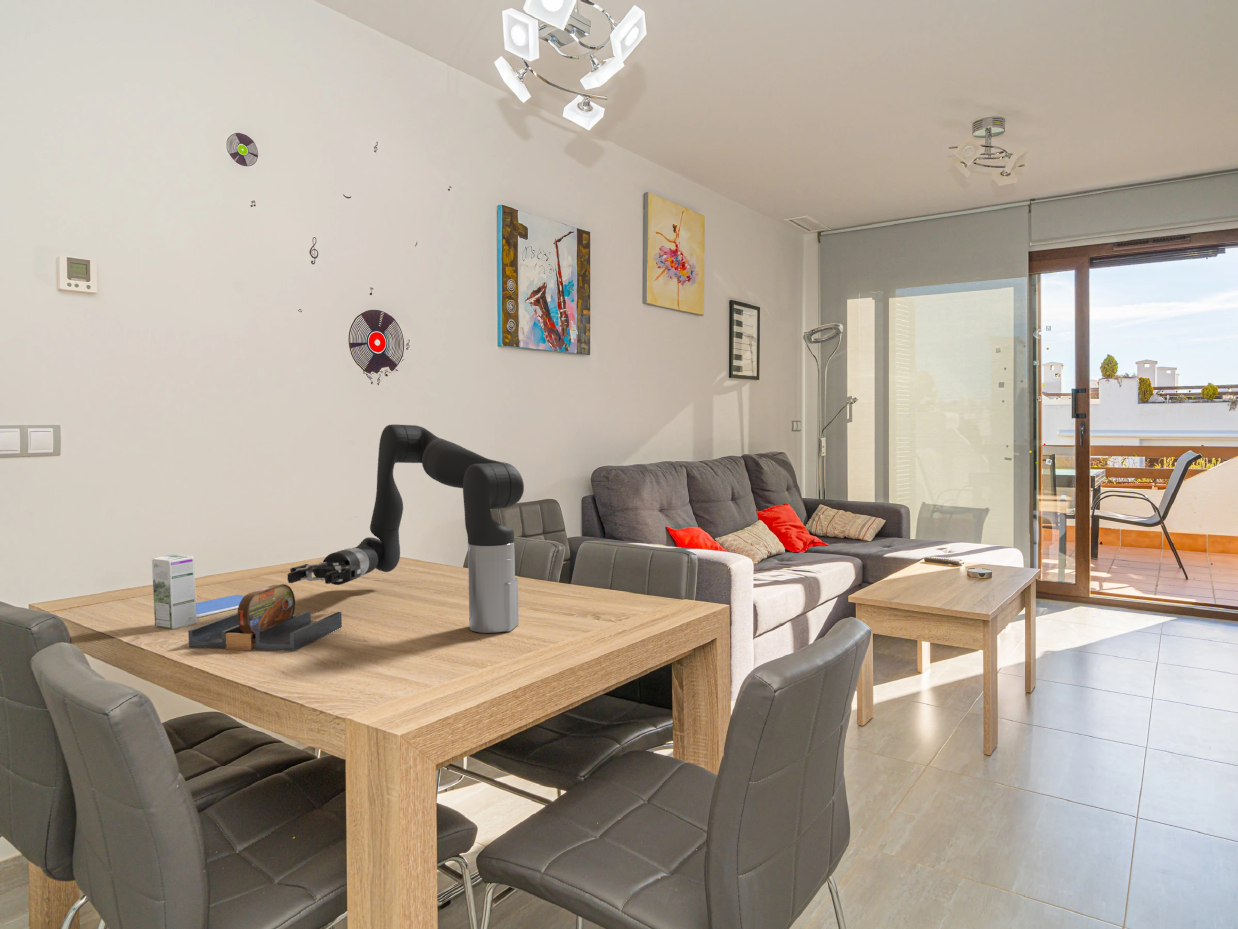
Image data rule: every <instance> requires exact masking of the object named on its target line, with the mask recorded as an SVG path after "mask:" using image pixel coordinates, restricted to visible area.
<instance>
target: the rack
mask: <svg viewBox="0 0 1238 929" xmlns="http://www.w3.org/2000/svg"><path fill="white" fill-rule="evenodd" d="M311 613H312V612H311V611H310V610H306V611H304V612H302V613H298V614H297V615H293V617H291V618H289V619H287V620H284V621H282V622H279V623H277V624H275V625H272V626H270V627H267V628H265V629H263V630H260V631H258V632H255V636H253V633H243V632H242V631H241V629H240V627H239V621H238V612H236V613H233V614H230V615H228V616H225V617H222V618H220V619H216V620H214V621H210V622H208V623H206V624H203V625H199V626H196V627H194V628H191V629H189V630H188V634H187V635H188V648H189V649H190V648H191V649H193V648H194V649H196V648H197V649H221V650H222V649H225V650H227V651H228V650H229V651H249V650H251V651H253V649H255V650H254V651H278V650H284V651H283V652H285V651H287V652H295V651H297V650H299V649H301V648H303V647H305V646H307V645H309V644H311V643H313V642H316V641H317V640H319V639H322V638H323V637H326V636H327V634H328V635H329V633H330V634H331V632H332V633H333V631H334V632H336V631H338V630H340V629H342V628H343V625H342V622H343V620H342V619H343V617H342V614H343V613H342V611H337V612H334V613H331V614H330V615H328V616H326V617H323V618H321V619H318V620H312V619H311V617H312V616H311ZM341 627H342V628H341ZM339 628H340V629H339ZM337 629H338V630H337ZM335 630H336V631H335ZM325 635H326V636H325ZM315 640H316V641H315Z"/></svg>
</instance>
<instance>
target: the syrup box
mask: <svg viewBox="0 0 1238 929" xmlns="http://www.w3.org/2000/svg"><path fill="white" fill-rule="evenodd" d="M151 563H152V564H151V565H152V566H151V567H152V569H151V570H152V587H153V588H152V590H153V609H154V612H153V613H154V626H155V627H157V628H161V629H169V630H174V629H180V628H184V627H189V626H193V625H196V624H197V622H198V621H197V620H198V618H197V617H196V603H197V601H196V600H197V599H196V577H195V575H196V573H195V557H194V555H184V554H170V555H169V554H167V555H161V556H158V557H155V558H151ZM188 625H189V626H188Z"/></svg>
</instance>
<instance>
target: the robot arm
mask: <svg viewBox="0 0 1238 929" xmlns="http://www.w3.org/2000/svg"><path fill="white" fill-rule="evenodd" d="M398 463H399V464H401V463H402V464H403V463H404V464H405V463H406V464H407V463H408V464H409V463H410V464H421V465H422V468H423V470H424V472H425V474H427V476H429V478H431V479H433V480H434V481H436V482H438V483H440V484H442V485H446V486H449V487H452V488H458V489H462V496H463V497H462V498H463V509H464V524H465V531H466V534H467V535H466V536H467V562H468V563H467V565H468V566H467V568H468V571H467V572H468V573H467V574H468V616H469V617H468V621H469V630H470V631H472V632H476V633H484V634H485V633H486V634H488V633H489V634H490V633H491V634H492V633H501V632H502V633H503V632H511V631H512V630H514V628H516V627H517V626H518V625H519V622H520V621H519V579H518V578H517V577H516V576H515V575H516V574H515V572H516V568H515V565H516V564H515V561H516V560H515V559H516V558H515V531H514V529H513V528H512V527H511V526H508V525H504V524H501V523H498V522H497V521H496V520H494V519H493V516H492V510H497V509H498V510H499V509H506V508H510V507H512V506H515V505H516V504H517V503H519V502H520V501H521V499H522V497H523V495H524V490H525V484H524V480H523V477H522V475H521V473H520V472H519V470H518V469H517V467H515V466H514V465H512V464H511V463H508V462H504V461H497V460H494V459H492V458H491V459H489V458H488V457H484V456H482V455H480V454H479V453H476V452H474V451H472V450H470V449H467V448H465V447H463V446H461V445H459V444H456V443H454V442H452V441H449V440H446V439H444V438H441V437H439V436H436V435H435V434H433V433H432V431H429V430H428V429H426V427H423V426H420V425H415V424H414V425H411V424H388V425H386V426H385V427H384V428H383V429H382V432H381V435H380V439H379V444H378V458H377V474H376V475H377V476H376V493H375V501H374V506H373V510H372V516H371V519H370V526H369V530H370V531H369V532H370V533H371V534H372V535H373V536H374V537H372V536H371V537H370V536H369V537H365V538H364V539H362V540H361V541H360V543H359V544H358V545H357V546H355V547H350V548H344V549H342V550H338V551H336V552H335V551H334V552H331V553H329V554H328V555H327V556H325V558H324V559H323V560H322V562H321V561H320V562H319V563H315V564H308V563H304V564H303V565H298V566H294V567H291V568H290V569H289V570H290V572H288V574H287V582H288V583H289V584H293V583H296V582H297V583H298V582H300V581H309V582H314V581H324V584H326V585H330V584H332V585H334V586H340V585H341V586H342V585H344V584H346V583H349V582H352V581H354V580H356V579H359V578H360V577H362V576H364V575H367V574H370V573H371V572H373V571H375V569H376V570H378V571H380V572H384V573H389V572H391V571H393V570H394V569H396V567H397V565H398V564H399V562H400V557H401V546H400V527H401V526H400V525H401V520H402V516H403V512H404V502H403V499H402V496H401V492H400V491H399V489H398V486H397V484H396V481H395V478H394V469H395V465H396V464H398ZM313 575H314V577H312V576H313Z"/></svg>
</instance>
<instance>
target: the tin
mask: <svg viewBox="0 0 1238 929" xmlns="http://www.w3.org/2000/svg"><path fill="white" fill-rule="evenodd" d="M295 610H296V598H295V594H294V591H293V590H292V588H291V586H289V585H288V584H286V583H285V584H284V583H282V584H273V585H269V586H266V587H263V588H260V589H258V590H255V591H252V592H249V593H247V594H245V595H244V597H243V599H242V600H241V602H240V604H239V607H238V609H237V613H238V621H239V627H240V629H241V631H242V632H243V633H253V636H255V632H258V631H260V630H263V629H265V628H267V627H270V626H272V625H275V624H277V623H279V622H282V621H284V620H287V619H289V618H291V617H294V616H295Z"/></svg>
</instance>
